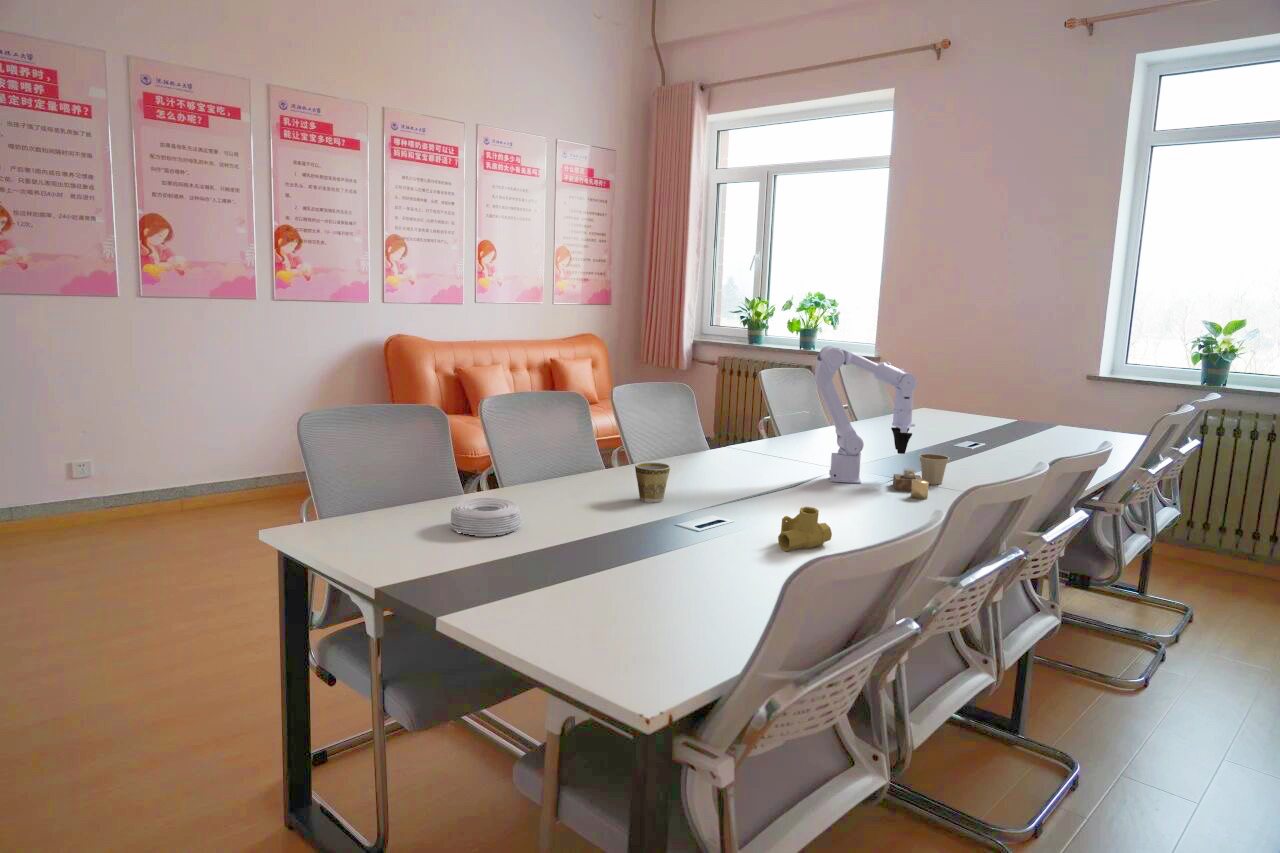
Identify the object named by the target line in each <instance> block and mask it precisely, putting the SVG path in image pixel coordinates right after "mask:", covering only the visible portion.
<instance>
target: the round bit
mask: <svg viewBox="0 0 1280 853" xmlns="http://www.w3.org/2000/svg"><path fill="white" fill-rule="evenodd" d="M929 485H930V484H929V482H928V481H925V480H912V486H911V491H910V498H911V499H914V500H922V501H923V500H928V498H929V497H928V495H929Z"/></svg>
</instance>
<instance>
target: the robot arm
mask: <svg viewBox="0 0 1280 853" xmlns="http://www.w3.org/2000/svg"><path fill="white" fill-rule="evenodd" d="M815 359H816V366H815V372H814V381H815V383H816V386H817V387H818V390H819V393H820V395H821V397H822V399H823V402H824V405H825V407H826V409H827V411H828V414H829V415H830V418H831V421H832V423H833V425H834V427H835V434H836V437H837V438H836V443H837V446H838V447H839V448H838V450H837V452H831V454H830V455H831V459H830V469H829V473H828V474H829V480H830V482H832V483H833V482H834V483H835V482H836V483H852V484H861V483H862V481H861V477H860V475H861V474H860V470H861V456H862V454H861V453H862V451H863V448H864V441H863V439H862V437H860V436H859V435H858V434H857V432H856V430H855V428H854V427H853V424H851V421H850V419H849V416H848V415H847V414H848V413H847V412H846V410H845V408H844V405H843V403H842V401H841V398H840V395H839V393H838V390H837V389H836V386H835V384H834V382H833V378H834V377H835V374H836V372H837V371H838V370H839V369H840V368H841V367H842V366H843V365H844V366H848V365H853V366H856V367H858V368H861V369H863V370H865V371H867V372H870V373H872V374H873V376H874V379H876V380H879V381H880V382H883V383H885V384H887V385H889V386H891V387H894V388H895V392H894V403H893V417H892V419H893V420H892V423H891V426H893V427H891V428H890V429H891V431H892V435H893V439H894V440H893V441H894V448H895V450H897V451H896V452H897V454H898V455H899V454H900V455H905V454H906V450H907V448H908V443H909V441H910V439H911V438H912V436H913V433H912V432H909V431H910V428H912V427H915V426H916V424H915V423H912V418H913V406H914V394H915V393H914V392H915V389H916V388H917V387H918V382H917V378H916V377H915V375H914V374H911V373H909V372H906V371H905V369H904V368H898V367H895V366H893V365H892V363H890V362H889V361H885V362H884V361H882V362H879V363H876V362H874V361H871V360H870V359H867V358H865V357H864V356H862V355H859V354H857V353H855V352H853V351H849V350H846V349H845V350H844V349H840V348H839V347H834V346H832V345H827V346H824V347H822V348H821V350H820V351H819V353H818V355H817V356H816V358H815Z"/></svg>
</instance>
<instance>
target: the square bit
mask: <svg viewBox="0 0 1280 853" xmlns="http://www.w3.org/2000/svg"><path fill="white" fill-rule="evenodd" d="M915 471H916V470H915V469H914V468H903V473H902V474H903V478H904V479H914V475H916V472H915Z"/></svg>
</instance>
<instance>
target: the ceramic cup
mask: <svg viewBox="0 0 1280 853" xmlns="http://www.w3.org/2000/svg"><path fill="white" fill-rule="evenodd" d="M634 470H635V476H636V482H637V489H638V496H639V500H640V501H641V500H643V501H642V502H644V501H646V502H645V503H649V502H656V503H661V502H660V501H662V502H663V500H664V498H665V492H666V489H667V488H666V487H667V483H668V480H669V475H670V470H671V466H670V465H669V464H667V463H662V462H639V463H636V464H635V465H634Z"/></svg>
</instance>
